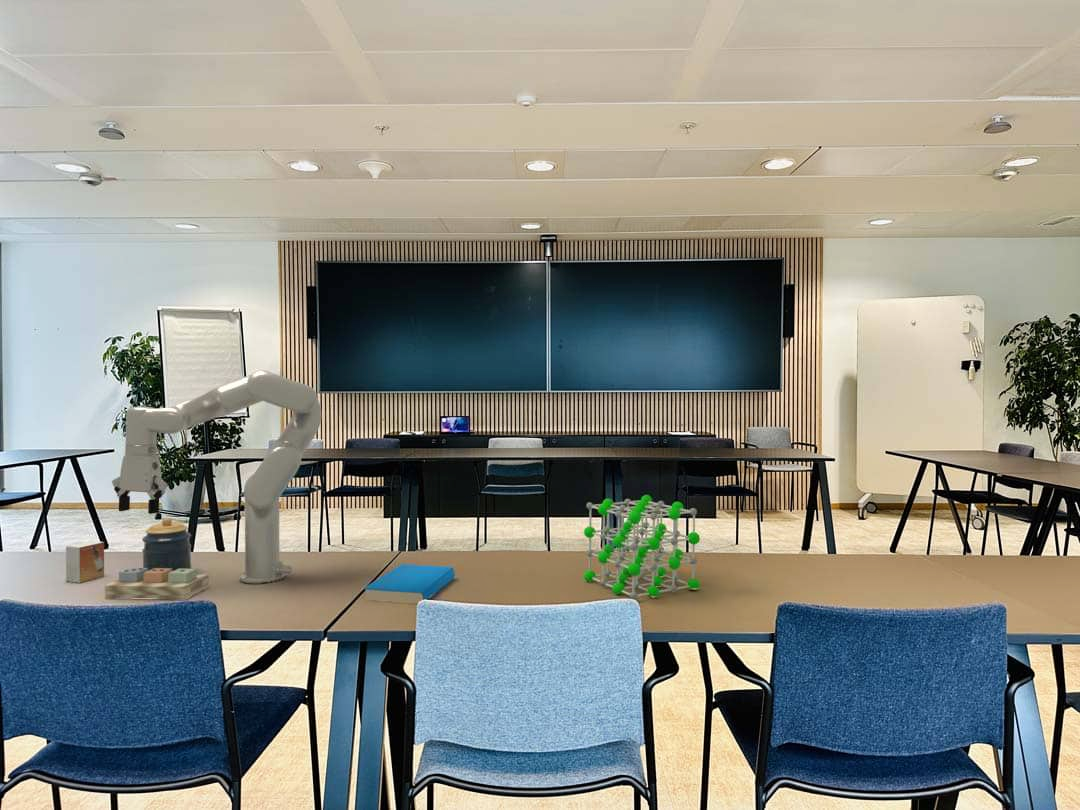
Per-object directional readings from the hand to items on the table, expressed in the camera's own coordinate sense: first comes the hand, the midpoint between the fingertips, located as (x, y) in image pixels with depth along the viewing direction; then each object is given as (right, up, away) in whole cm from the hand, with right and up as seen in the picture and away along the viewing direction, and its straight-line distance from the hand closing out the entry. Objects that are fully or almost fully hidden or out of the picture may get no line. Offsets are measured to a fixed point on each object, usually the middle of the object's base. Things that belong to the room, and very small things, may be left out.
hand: (138, 511), depth 190 cm
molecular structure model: (+141, -22, +5) cm, 143 cm away
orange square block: (+7, -19, -2) cm, 20 cm away
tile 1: (+14, -19, -3) cm, 24 cm away
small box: (-22, -22, +11) cm, 33 cm away
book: (+76, -23, +2) cm, 80 cm away
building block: (0, -19, -2) cm, 19 cm away
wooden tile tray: (+7, -22, -2) cm, 23 cm away
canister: (0, -22, +15) cm, 27 cm away
